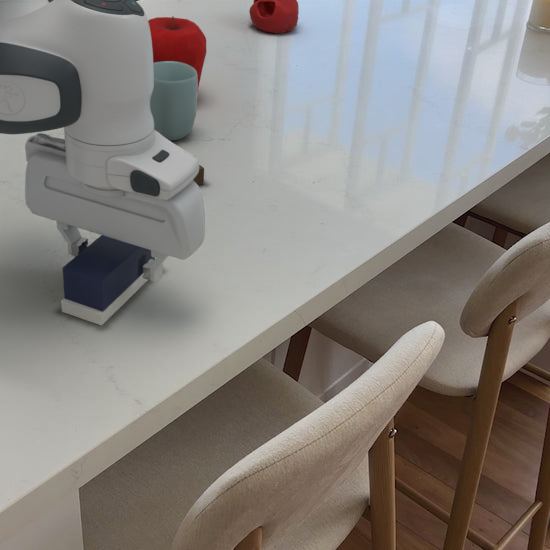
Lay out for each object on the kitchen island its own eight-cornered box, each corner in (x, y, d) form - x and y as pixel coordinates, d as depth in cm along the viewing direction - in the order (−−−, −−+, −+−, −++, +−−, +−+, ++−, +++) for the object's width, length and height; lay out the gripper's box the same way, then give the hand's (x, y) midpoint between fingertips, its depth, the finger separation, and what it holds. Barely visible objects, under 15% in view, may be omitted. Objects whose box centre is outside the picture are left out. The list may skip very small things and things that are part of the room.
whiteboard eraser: (101, 326, 94) (99, 283, 90) (61, 311, 95) (58, 269, 92) (158, 270, 103) (158, 230, 100) (120, 258, 104) (120, 218, 101)
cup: (204, 140, 132) (207, 76, 126) (158, 150, 128) (158, 85, 122) (179, 119, 137) (180, 57, 131) (133, 129, 133) (132, 65, 127)
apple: (125, 98, 142) (123, 14, 134) (168, 81, 149) (170, 1, 141) (173, 118, 137) (175, 33, 129) (216, 100, 144) (220, 18, 136)
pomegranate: (285, 18, 181) (289, -29, 176) (306, 35, 174) (311, -13, 168) (240, 21, 177) (243, -27, 172) (259, 38, 170) (263, -11, 165)
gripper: (5, 140, 90) (18, 254, 98) (183, 190, 84) (182, 307, 92) (42, 118, 95) (52, 228, 103) (213, 163, 89) (210, 277, 97)
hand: (115, 266), depth 97 cm, fingers open, 8 cm apart
